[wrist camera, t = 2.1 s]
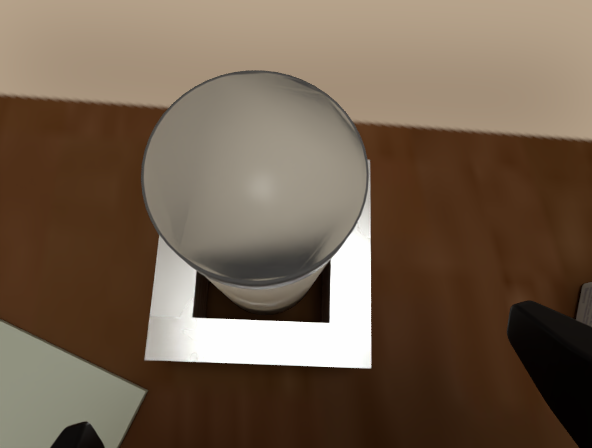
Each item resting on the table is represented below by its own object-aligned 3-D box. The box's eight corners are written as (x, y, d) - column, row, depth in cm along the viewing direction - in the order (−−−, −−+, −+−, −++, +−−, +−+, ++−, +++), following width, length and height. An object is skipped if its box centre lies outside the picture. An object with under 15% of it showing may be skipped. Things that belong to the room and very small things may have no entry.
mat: (148, 390, 20) (145, 391, 20) (40, 603, 18) (35, 609, 18) (-21, 308, 21) (-27, 308, 21) (-146, 505, 19) (-155, 509, 18)
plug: (330, 242, 23) (400, 121, 10) (291, 332, 21) (315, 323, 9) (243, 204, 23) (207, 39, 10) (200, 290, 22) (97, 223, 9)
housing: (355, 363, 21) (371, 368, 18) (165, 356, 21) (144, 359, 17) (356, 185, 23) (370, 160, 20) (185, 176, 23) (169, 149, 20)
